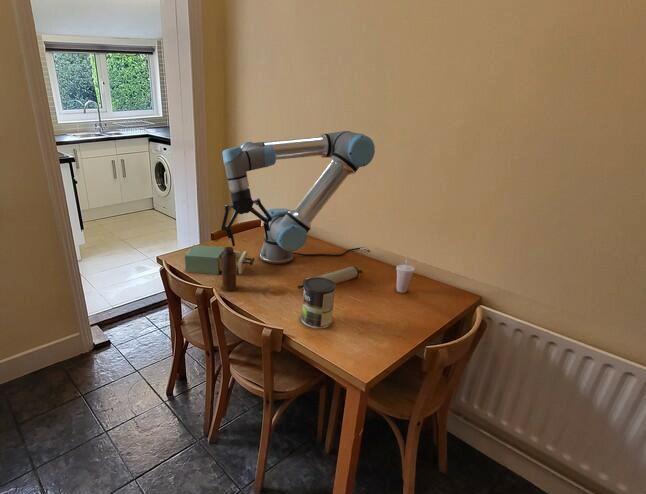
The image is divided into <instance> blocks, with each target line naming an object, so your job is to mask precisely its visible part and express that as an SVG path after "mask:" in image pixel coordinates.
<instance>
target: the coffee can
mask: <svg viewBox="0 0 646 494" xmlns="http://www.w3.org/2000/svg"><path fill="white" fill-rule="evenodd" d="M312 277H313V278H310V277H308V278H309V279H307V280H305V279H304V280H305V281H304V280H303V281H304V287H303V295H302V310H301V322H302V324H303V325H305V326H307V327H309V328H312V329H320V330H321V329H326V328H328V327H330V326H331V325H332V323H333V311H334V301H335V291H336V287H337V286H336V285H337V283H336V284H335V283H334V282H333V281H332V280H330V279H327V278H322V277H317V276H312Z"/></svg>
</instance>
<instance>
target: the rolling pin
mask: <svg viewBox="0 0 646 494" xmlns="http://www.w3.org/2000/svg"><path fill="white" fill-rule="evenodd" d="M362 273H363V269H358V267H357V266H348V267H345V268H342V269H339V270H336V271H332V272H328V273H325V274H321V275H318V276H316V277H322V278H327V279H330V280H332V281H333V282H334V283H335V284H336V285H337V284H339V283H343V282H346V281H349V280H353V279H358V278H359V277H360V274H362ZM313 277H314V276H311V277H304V279H303V280H302V284H299V285H297V286H296V287H297V289H304V281H305V280H307V279H309V278H313Z"/></svg>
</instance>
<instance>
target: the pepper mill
mask: <svg viewBox="0 0 646 494" xmlns="http://www.w3.org/2000/svg"><path fill="white" fill-rule="evenodd" d="M224 247H225V248H224V252H222V271H221V277H222V281H221V282H222V290H223V291H224V292H227V293H228V292H234V291H236V290H237V271H236V253H235V252H234V251H235V250H234V248H233V246H224Z"/></svg>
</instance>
